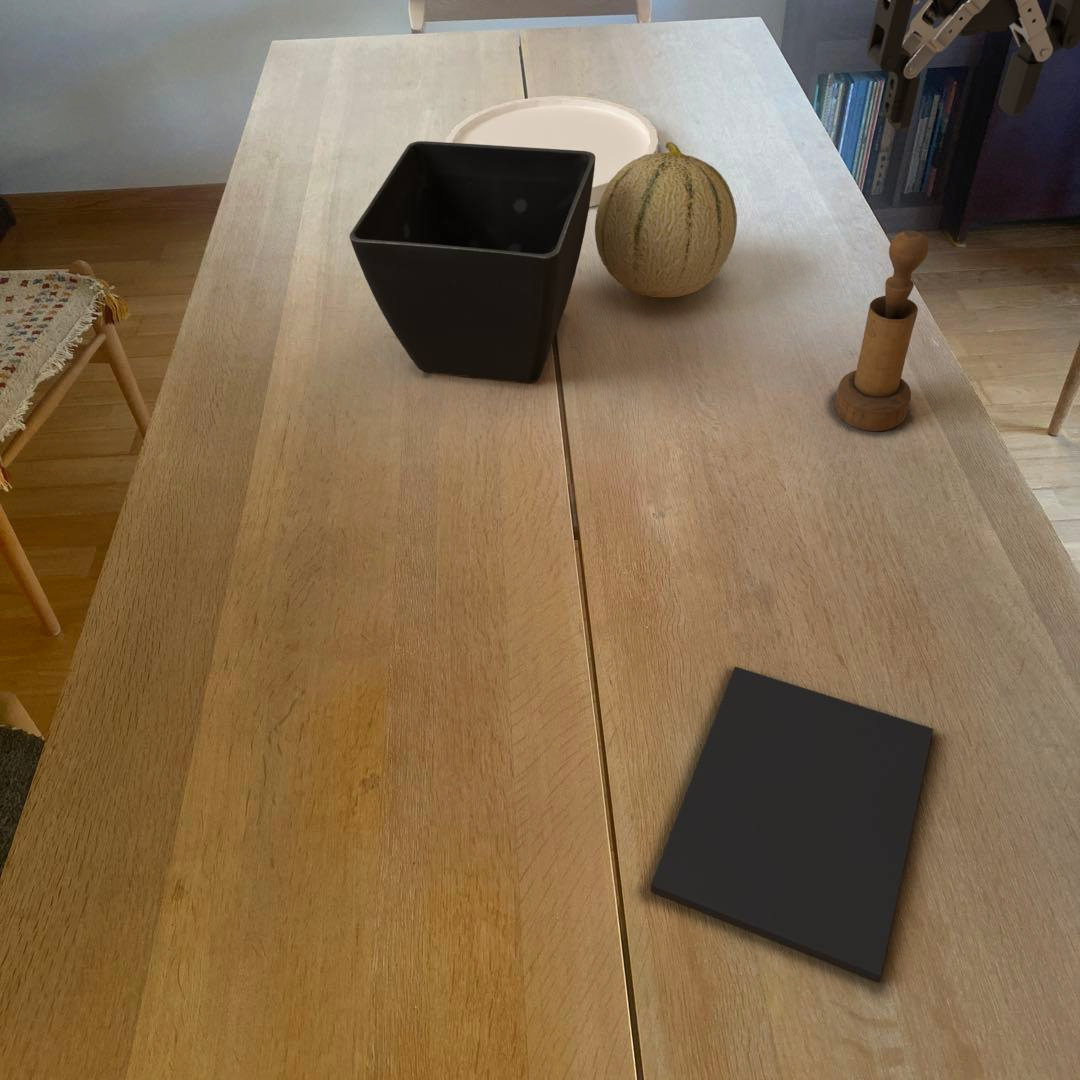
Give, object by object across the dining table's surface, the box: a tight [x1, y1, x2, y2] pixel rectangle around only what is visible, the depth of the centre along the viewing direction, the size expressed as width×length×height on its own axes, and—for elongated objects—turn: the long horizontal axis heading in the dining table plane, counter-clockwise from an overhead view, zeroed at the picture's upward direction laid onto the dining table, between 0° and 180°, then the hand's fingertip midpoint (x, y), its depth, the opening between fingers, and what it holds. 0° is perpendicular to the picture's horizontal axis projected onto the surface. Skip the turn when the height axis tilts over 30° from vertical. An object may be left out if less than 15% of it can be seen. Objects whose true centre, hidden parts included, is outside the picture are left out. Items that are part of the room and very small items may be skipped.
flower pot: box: [348, 140, 595, 384], centre depth 97 cm, size 19×19×17 cm
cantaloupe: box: [594, 141, 738, 298], centre depth 104 cm, size 15×15×15 cm
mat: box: [650, 666, 934, 983], centre depth 65 cm, size 14×18×1 cm
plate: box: [444, 95, 659, 208], centre depth 131 cm, size 28×28×2 cm
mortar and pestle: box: [834, 230, 929, 432], centre depth 87 cm, size 7×6×18 cm
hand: (953, 118), depth 71 cm, fingers open, 8 cm apart
